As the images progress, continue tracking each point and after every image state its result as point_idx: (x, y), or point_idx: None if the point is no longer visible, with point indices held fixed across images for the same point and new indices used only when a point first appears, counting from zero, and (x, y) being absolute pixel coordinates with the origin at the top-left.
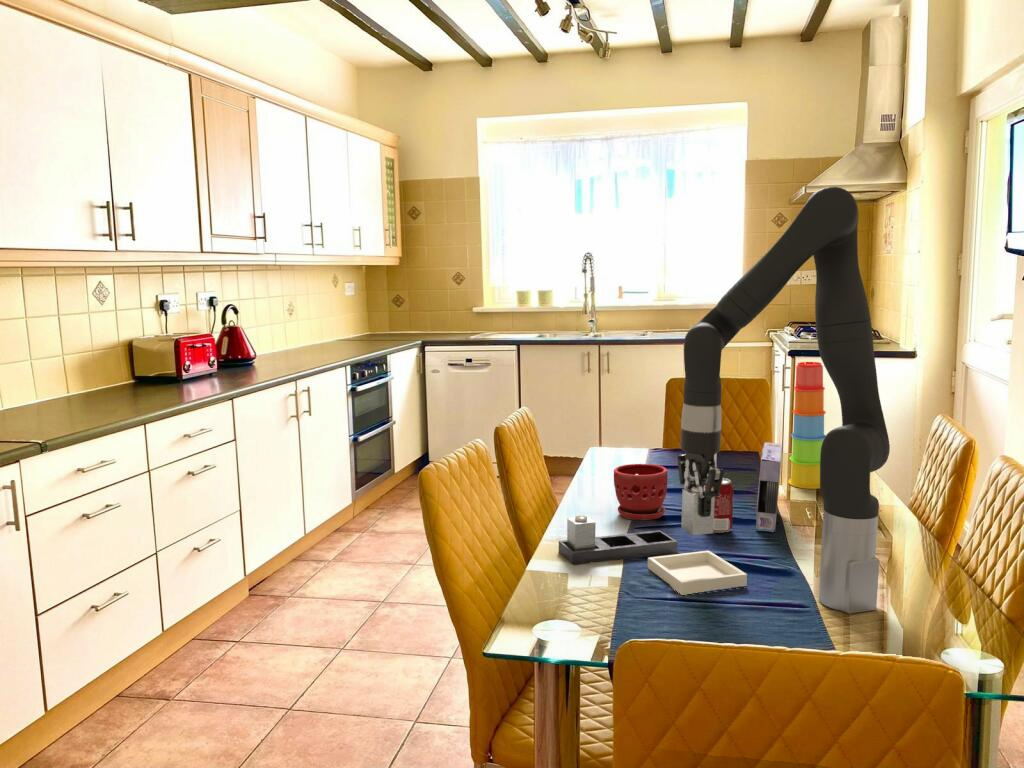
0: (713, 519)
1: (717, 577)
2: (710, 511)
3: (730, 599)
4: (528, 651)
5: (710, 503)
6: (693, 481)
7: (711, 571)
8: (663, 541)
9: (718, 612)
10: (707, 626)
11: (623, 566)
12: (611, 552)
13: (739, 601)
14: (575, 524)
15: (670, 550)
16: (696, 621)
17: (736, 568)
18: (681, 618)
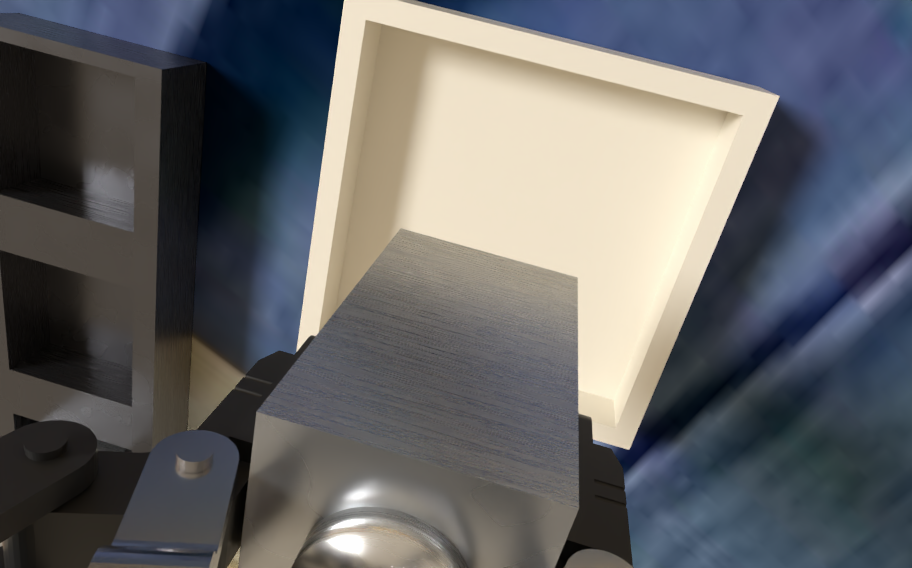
0: (576, 331)
1: (694, 276)
2: (620, 474)
3: (800, 277)
4: None
5: (627, 544)
6: (87, 463)
7: (512, 116)
8: (136, 141)
9: (852, 420)
10: (903, 539)
11: (242, 371)
12: (162, 408)
13: (848, 261)
14: None
15: (188, 108)
16: (840, 536)
17: (671, 77)
18: (779, 553)
